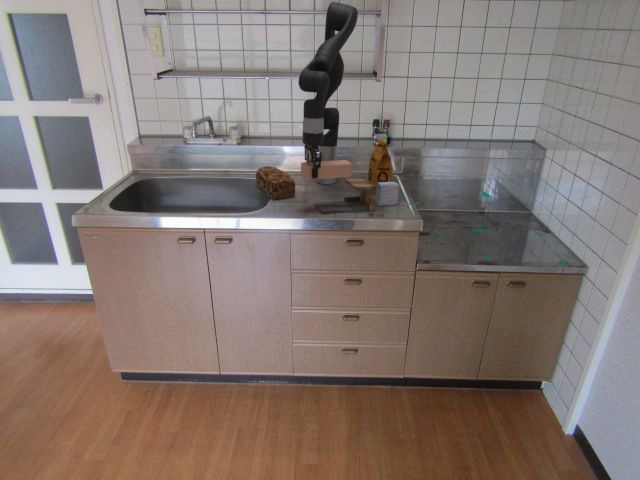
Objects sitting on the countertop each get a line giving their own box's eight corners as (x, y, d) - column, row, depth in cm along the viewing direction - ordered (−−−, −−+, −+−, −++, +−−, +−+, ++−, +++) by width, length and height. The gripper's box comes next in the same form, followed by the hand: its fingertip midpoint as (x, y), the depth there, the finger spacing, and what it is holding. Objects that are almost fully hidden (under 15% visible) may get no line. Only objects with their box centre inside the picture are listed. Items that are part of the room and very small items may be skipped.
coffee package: (369, 195, 189) (374, 144, 179) (365, 186, 200) (369, 137, 191) (392, 195, 189) (398, 144, 180) (387, 186, 200) (392, 138, 191)
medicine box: (393, 201, 182) (395, 181, 179) (397, 205, 178) (399, 184, 175) (375, 202, 181) (377, 182, 177) (378, 206, 177) (380, 185, 173)
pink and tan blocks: (314, 204, 176) (314, 180, 172) (362, 200, 182) (364, 177, 178) (323, 215, 166) (324, 189, 162) (374, 210, 172) (376, 185, 168)
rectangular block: (300, 175, 166) (301, 162, 164) (345, 172, 172) (346, 160, 169) (305, 180, 161) (305, 166, 159) (351, 176, 166) (351, 163, 164)
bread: (255, 188, 193) (254, 166, 189) (277, 185, 198) (277, 163, 194) (273, 201, 179) (272, 177, 174) (296, 197, 184) (296, 174, 179)
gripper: (297, 126, 163) (297, 171, 170) (308, 134, 150) (307, 181, 157) (317, 126, 165) (316, 170, 172) (329, 133, 152) (327, 180, 159)
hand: (312, 175), depth 165 cm, fingers closed on rectangular block, 6 cm apart
